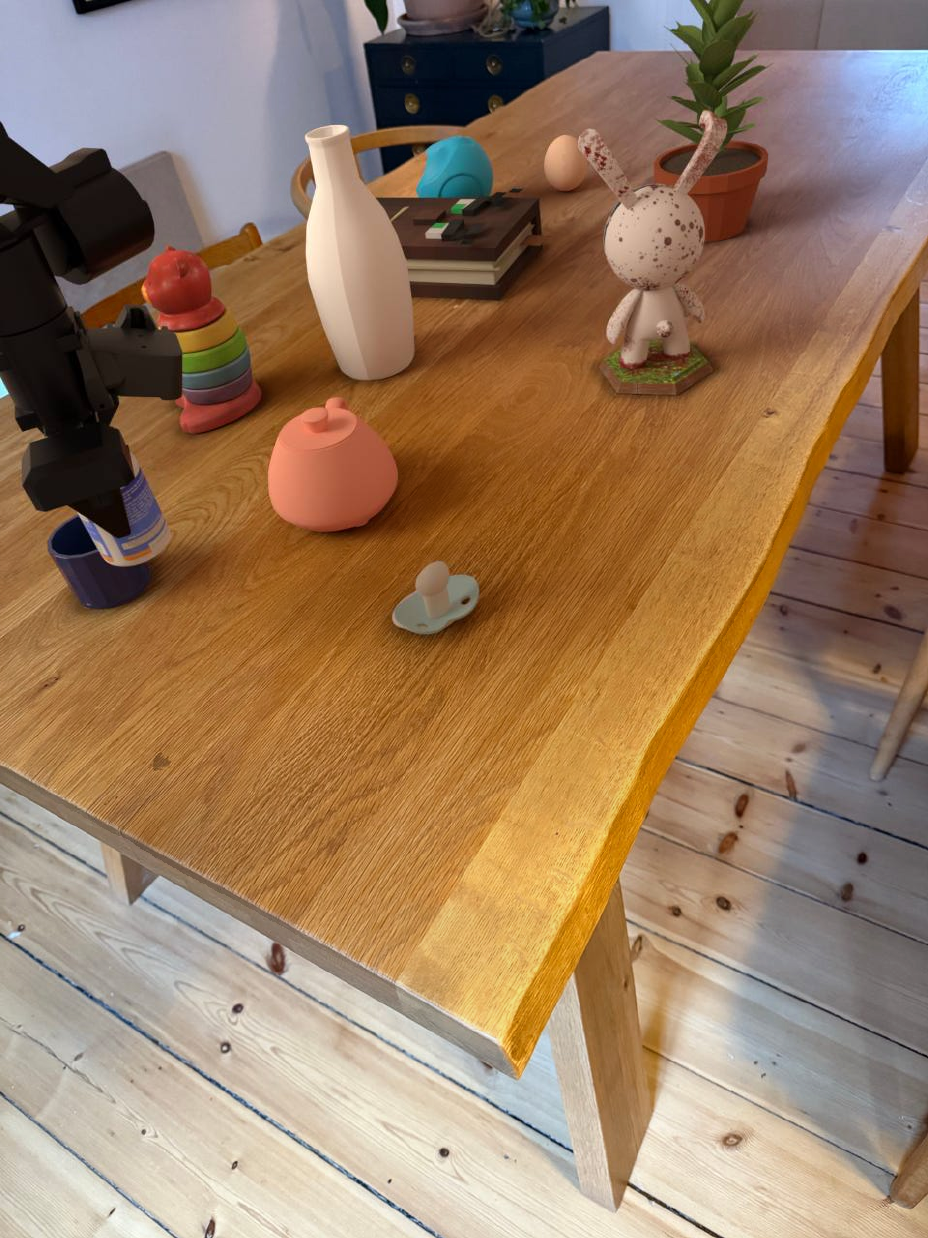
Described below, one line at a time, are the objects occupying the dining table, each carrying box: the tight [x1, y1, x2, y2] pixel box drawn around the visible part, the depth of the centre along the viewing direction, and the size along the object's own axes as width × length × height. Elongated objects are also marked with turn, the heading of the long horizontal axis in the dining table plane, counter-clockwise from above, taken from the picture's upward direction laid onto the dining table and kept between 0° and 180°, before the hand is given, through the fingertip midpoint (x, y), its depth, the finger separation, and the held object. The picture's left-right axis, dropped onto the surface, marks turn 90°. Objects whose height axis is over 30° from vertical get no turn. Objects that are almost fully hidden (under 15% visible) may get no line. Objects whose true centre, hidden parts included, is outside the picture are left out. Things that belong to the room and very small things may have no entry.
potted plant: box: [653, 0, 774, 243], centre depth 112 cm, size 15×15×30 cm
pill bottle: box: [76, 451, 172, 566], centre depth 65 cm, size 5×5×10 cm
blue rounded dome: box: [415, 134, 494, 198], centre depth 134 cm, size 12×11×12 cm
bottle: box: [304, 124, 415, 382], centre depth 98 cm, size 11×11×25 cm
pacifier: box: [391, 560, 480, 635], centre depth 71 cm, size 7×6×6 cm
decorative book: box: [375, 187, 550, 301], centre depth 122 cm, size 19×8×30 cm
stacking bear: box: [140, 245, 262, 435], centre depth 99 cm, size 11×10×18 cm
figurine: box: [577, 110, 727, 397], centre depth 88 cm, size 14×12×25 cm
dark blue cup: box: [46, 513, 153, 610], centre depth 80 cm, size 7×7×6 cm
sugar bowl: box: [267, 396, 399, 533], centre depth 83 cm, size 12×14×10 cm
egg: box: [543, 134, 588, 192], centre depth 138 cm, size 7×7×8 cm
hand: (120, 515), depth 67 cm, fingers closed on pill bottle, 5 cm apart
